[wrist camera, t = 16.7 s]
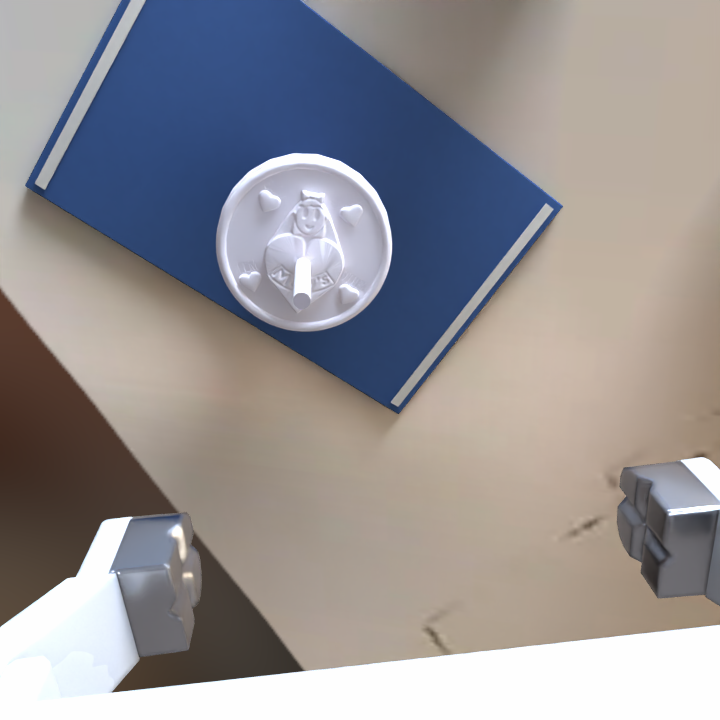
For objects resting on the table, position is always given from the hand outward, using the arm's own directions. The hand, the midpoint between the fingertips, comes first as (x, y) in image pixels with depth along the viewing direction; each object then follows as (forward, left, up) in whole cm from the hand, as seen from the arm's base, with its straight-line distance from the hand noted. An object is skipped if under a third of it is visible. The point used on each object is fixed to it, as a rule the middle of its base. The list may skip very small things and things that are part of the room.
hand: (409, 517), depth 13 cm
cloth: (-1, -3, -23) cm, 24 cm away
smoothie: (-1, -3, -23) cm, 23 cm away
